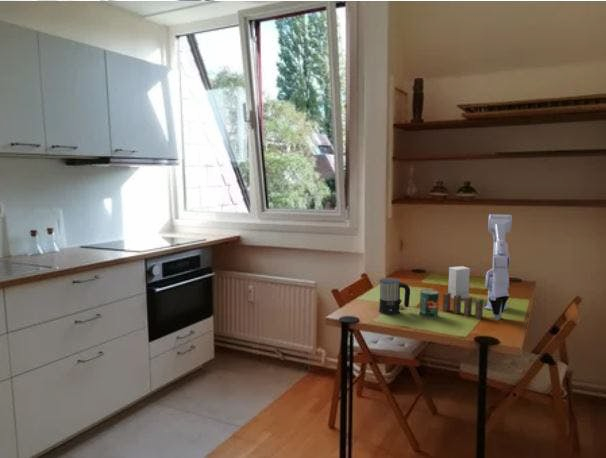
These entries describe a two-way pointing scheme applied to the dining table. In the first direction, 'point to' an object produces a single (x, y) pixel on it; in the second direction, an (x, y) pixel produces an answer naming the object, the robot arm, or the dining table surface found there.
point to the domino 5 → (499, 314)
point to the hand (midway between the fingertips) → (498, 313)
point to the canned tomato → (429, 303)
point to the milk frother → (392, 295)
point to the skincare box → (459, 281)
